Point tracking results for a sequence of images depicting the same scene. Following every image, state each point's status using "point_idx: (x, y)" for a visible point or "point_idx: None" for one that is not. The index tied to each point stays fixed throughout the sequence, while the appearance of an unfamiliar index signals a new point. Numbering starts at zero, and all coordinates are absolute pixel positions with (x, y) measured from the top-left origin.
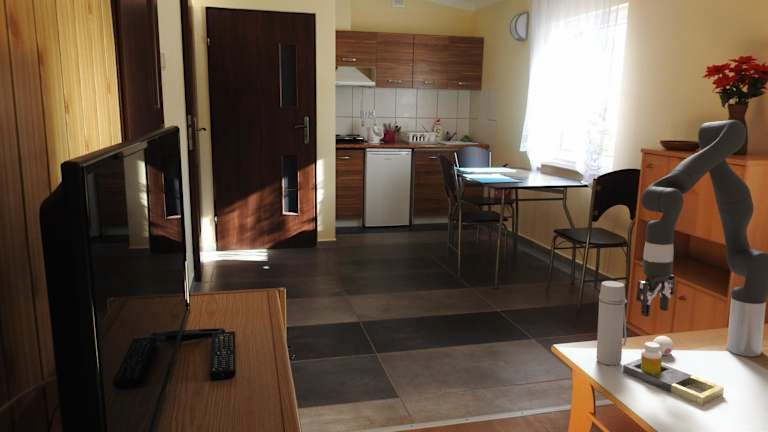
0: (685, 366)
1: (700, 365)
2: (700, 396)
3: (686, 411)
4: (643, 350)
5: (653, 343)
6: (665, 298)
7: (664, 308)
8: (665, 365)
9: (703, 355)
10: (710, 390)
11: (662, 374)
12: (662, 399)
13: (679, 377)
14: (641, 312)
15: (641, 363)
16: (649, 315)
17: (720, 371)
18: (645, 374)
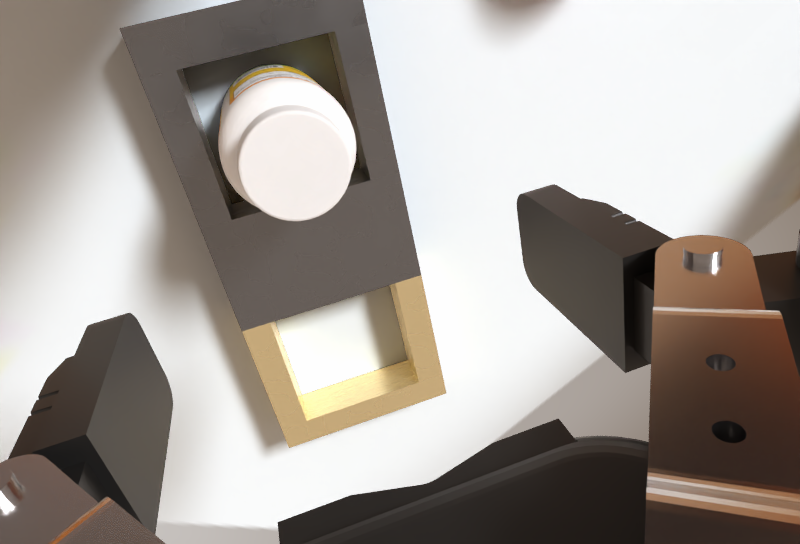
0: (542, 86)
1: (614, 103)
2: (289, 438)
3: (193, 441)
4: (243, 116)
5: (320, 155)
6: (632, 338)
7: (536, 267)
8: (388, 131)
9: (735, 5)
10: (373, 404)
11: (282, 224)
12: (159, 346)
13: (343, 275)
14: (53, 381)
15: (222, 111)
16: (167, 408)
17: (628, 187)
18: (187, 193)
